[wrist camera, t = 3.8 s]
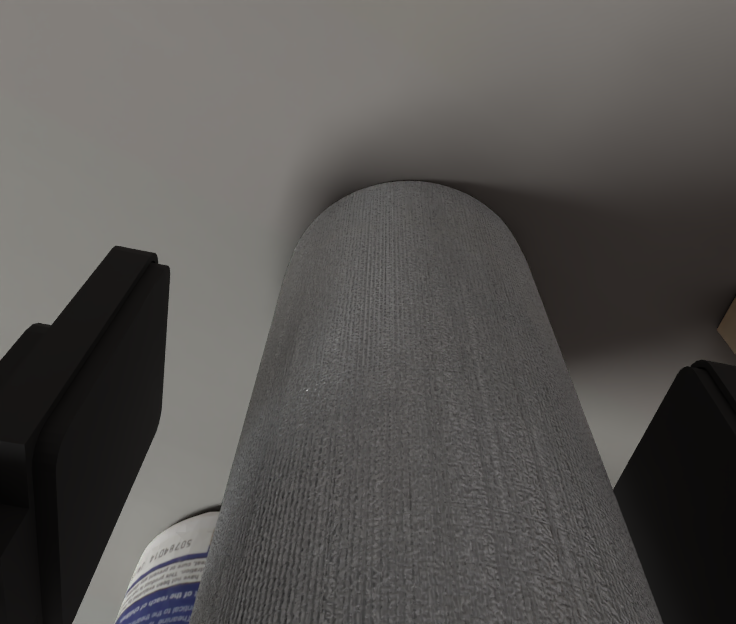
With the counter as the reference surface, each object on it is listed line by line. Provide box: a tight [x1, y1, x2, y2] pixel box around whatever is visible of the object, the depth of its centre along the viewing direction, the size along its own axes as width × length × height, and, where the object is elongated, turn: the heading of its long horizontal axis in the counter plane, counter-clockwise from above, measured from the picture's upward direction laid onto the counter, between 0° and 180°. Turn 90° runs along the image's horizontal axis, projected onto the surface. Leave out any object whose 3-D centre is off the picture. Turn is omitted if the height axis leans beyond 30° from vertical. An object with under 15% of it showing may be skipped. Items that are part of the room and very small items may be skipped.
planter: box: [189, 181, 663, 624], centre depth 8 cm, size 4×4×10 cm
